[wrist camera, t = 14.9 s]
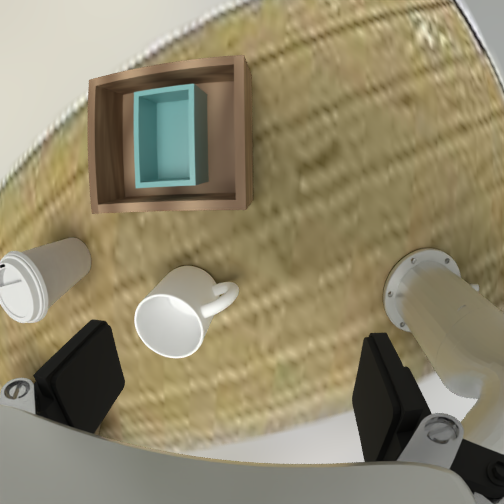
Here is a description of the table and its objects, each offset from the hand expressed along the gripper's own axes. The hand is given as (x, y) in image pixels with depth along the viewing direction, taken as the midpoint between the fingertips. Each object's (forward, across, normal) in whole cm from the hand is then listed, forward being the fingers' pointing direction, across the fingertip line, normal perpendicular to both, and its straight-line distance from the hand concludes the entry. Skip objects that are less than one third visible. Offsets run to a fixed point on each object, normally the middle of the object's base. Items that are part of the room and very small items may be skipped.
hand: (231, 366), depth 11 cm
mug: (+31, +9, +10) cm, 33 cm away
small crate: (+29, +11, -10) cm, 33 cm away
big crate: (+30, +11, -10) cm, 34 cm away
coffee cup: (+31, +30, +6) cm, 43 cm away
